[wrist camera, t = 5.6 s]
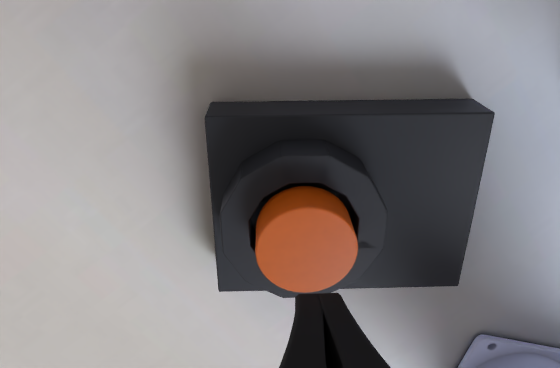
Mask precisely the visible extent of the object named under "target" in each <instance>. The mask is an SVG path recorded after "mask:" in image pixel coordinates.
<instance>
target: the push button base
mask: <svg viewBox="0 0 560 368" xmlns="http://www.w3.org/2000/svg"><path fill="white" fill-rule="evenodd" d="M493 119H494V112H493V111H491V110H490V109H488V108H486V107H485V106H483V105H482V104H480V103H478V102H477V101H475V100H474V99H428V100H348V101H267V102H211V103H210V105H209V108H208V110H207V113H206V115H205V128H206V140H207V152H208V165H209V177H210V190H211V202H212V214H213V227H214V239H215V252H216V264H217V276H218V289H219V291H220V292H221V291H263V290H266V291H268V292H270V293H273V294H275V295H277V296H280V297H282V298H293V297H296V296H297V295H298V294H315V293H331V292H333V291H336V290H338V289H349V288H391V287H434V286H458V284H459V279H460V274H461V270H462V265H463V260H464V256H465V251H466V246H467V242H468V237H469V232H470V227H471V223H472V218H473V213H474V209H475V204H476V199H477V194H478V190H479V185H480V180H481V176H482V171H483V166H484V161H485V157H486V152H487V147H488V143H489V138H490V133H491V129H492V124H493ZM297 186H313V187H318V188H321V189H324V190H326V191H329V192H330V193H332V194H334V195H335V196H336V197H338V198H339V199H340V200H341V201H342V203H343V204H344V205H345V207H346V209H347V211H348V213H349V216H350V219H351V222H352V225H353V228H354V231H355V234H356V237H357V241H358V253H357V257H356V260H355V263H354V265H353V267H352V268H351V270H350V271H349V273H348V274H347V275H346V276H345V277H344V278H343V279H342V280H341V281H339V282H338V283H336V284H335V285H333V286H331V287H329V288H326V289H323V290H320V291H315V292H307V293H303V292H293V291H289V290H286V289H283V288H281V287H279V286H277V285H275V284H274V283H272V282H271V281H270V280H269V279H267V278H266V276H265V275H264V274H263V273H262V271H261V270H260V268H259V266H258V264H257V260H256V255H255V244H256V223H257V218H258V215H259V213H260V211H261V209H262V208H263V206H264V205H265V204H266V203H267V201H268V200H269V199H271V198H272V197H273V196H274V195H276V194H278V193H279V192H281V191H283V190H286V189H289V188H292V187H297Z"/></svg>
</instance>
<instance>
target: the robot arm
mask: <svg viewBox="0 0 560 368" xmlns="http://www.w3.org/2000/svg"><path fill="white" fill-rule="evenodd" d="M489 344H490V345H489ZM279 368H390V366H389V365H388V364H387V363H386V362H385V360H384V359H383V358H382V357H381V355H380V354H379V353H378V352H377V350H376V349H375V348H374V346H373V345H372V344H371V342H370V341H369V340H368V338H367V337H366V335H365V334H364V333H363V331H362V330H361V328H360V327H359V325H358V324H357V322H356V321H355V319H354V318H353V316H352V314H351V313H350V311H349V310H348V308H347V306H346V304H345V302H344V301H343V299H342V297H341V295H340V294H338V293H315V294H298V295H297V296H296V297H295V317H294V322H293V326H292V330H291V334H290V338H289V341H288V345H287V348H286V350H285V353H284V356H283V359H282V362H281V365H280V367H279ZM458 368H560V349H559V348H554V347H548V346H543V345H538V344H532V343H527V342H522V341H516V340H511V339H506V338H500V337H495V336H490V335H479V336H477V337H476V338H475V339H474V341H473V342H472V344H471V346H470V348H469V349H468V351H467V353H466V354H465V356H464V358H463V359H462V361H461V363H460V364H459V366H458Z"/></svg>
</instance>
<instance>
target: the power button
mask: <svg viewBox="0 0 560 368" xmlns="http://www.w3.org/2000/svg"><path fill="white" fill-rule="evenodd" d="M357 253H358V241H357V237H356V234H355V231H354V228H353V225H352V222H351V219H350V216H349V213H348V211H347V209H346V207H345V205H344V204H343V203H342V201H341V200H340V199H339V198H338V197H336V196H335V195H334V194H332V193H330V192H329V191H326V190H324V189H321V188H318V187H313V186H297V187H292V188H289V189H286V190H283V191H281V192H279V193H278V194H276V195H274V196H273V197H272V198H271V199H269V200H268V201H267V203H266V204H265V205H264V206H263V208H262V209H261V211H260V213H259V215H258V218H257V223H256V244H255V255H256V260H257V264H258V266H259V268H260V270H261V271H262V273H263V274H264V275H265V276H266V278H267V279H269V280H270V281H271V282H272V283H274V284H275V285H277V286H279V287H281V288H283V289H286V290H289V291H293V292H303V293H307V292H315V291H320V290H323V289H326V288H329V287H331V286H333V285H335V284H336V283H338V282H339V281H341V280H342V279H343V278H344V277H345V276H346V275H347V274H348V273H349V271H350V270H351V268H352V267H353V265H354V263H355V260H356V257H357Z"/></svg>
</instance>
